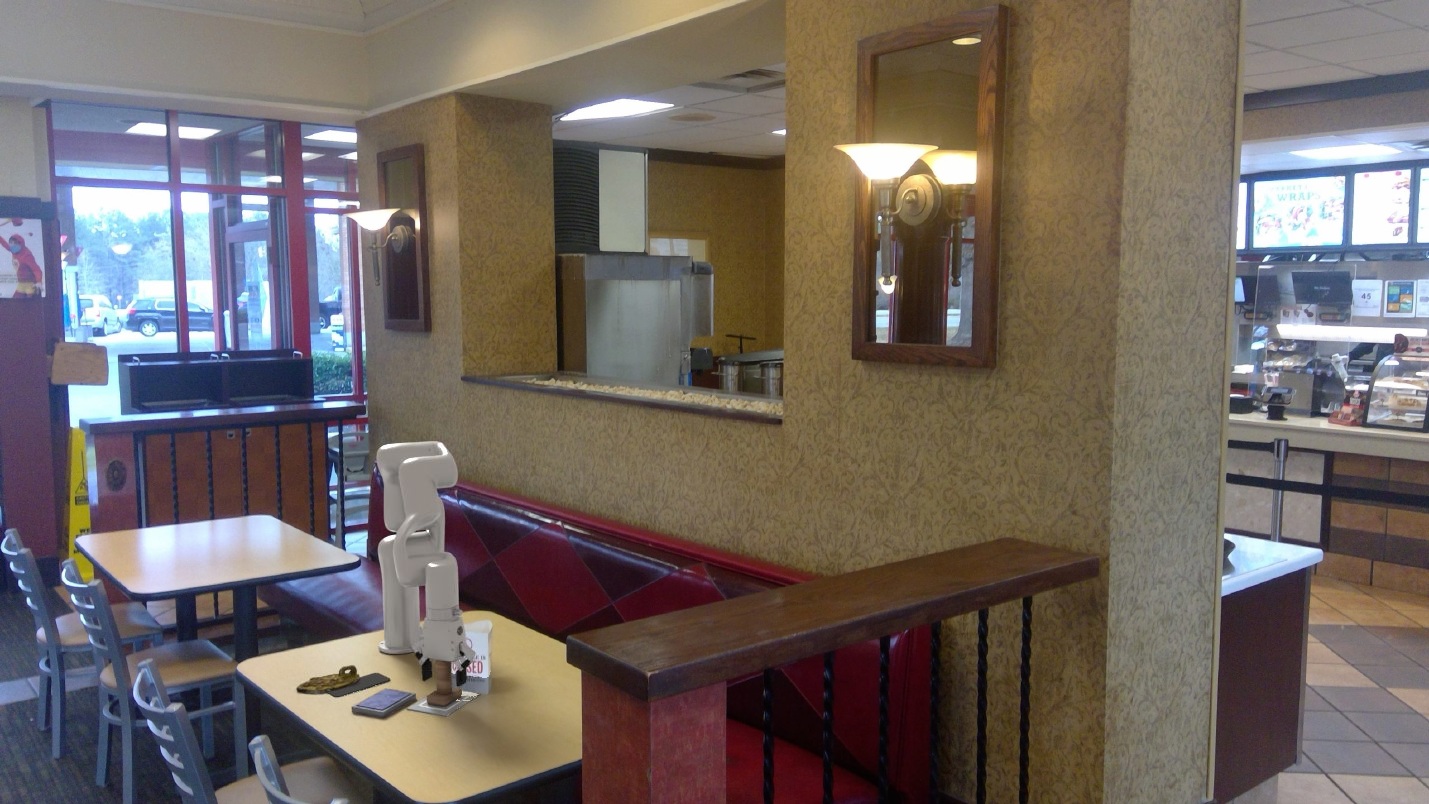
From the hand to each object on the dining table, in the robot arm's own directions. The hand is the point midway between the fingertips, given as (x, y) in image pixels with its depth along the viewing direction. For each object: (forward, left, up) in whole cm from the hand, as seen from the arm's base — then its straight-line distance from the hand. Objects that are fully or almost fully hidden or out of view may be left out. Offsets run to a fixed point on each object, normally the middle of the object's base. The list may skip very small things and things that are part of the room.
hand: (444, 682), depth 241 cm
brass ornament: (+2, -33, -5) cm, 34 cm away
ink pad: (+7, -12, -5) cm, 15 cm away
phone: (-1, -27, -6) cm, 27 cm away
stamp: (0, 0, -5) cm, 5 cm away
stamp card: (0, 0, -5) cm, 5 cm away
